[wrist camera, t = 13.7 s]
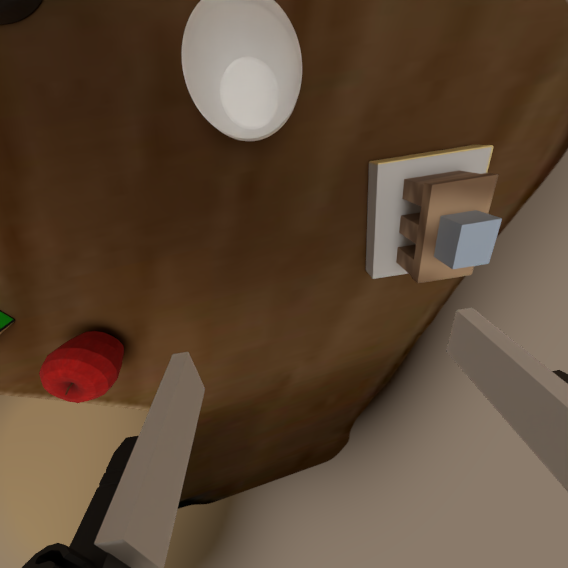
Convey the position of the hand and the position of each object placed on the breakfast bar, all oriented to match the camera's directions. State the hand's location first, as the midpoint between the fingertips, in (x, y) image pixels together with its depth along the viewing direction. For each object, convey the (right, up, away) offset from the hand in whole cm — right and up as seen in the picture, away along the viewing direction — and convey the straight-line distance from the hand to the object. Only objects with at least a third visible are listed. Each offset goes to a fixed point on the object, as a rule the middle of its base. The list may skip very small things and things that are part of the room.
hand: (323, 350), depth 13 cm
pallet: (+17, +12, +22) cm, 30 cm away
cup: (-6, +25, +16) cm, 30 cm away
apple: (-33, -7, +32) cm, 47 cm away
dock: (+17, +14, +25) cm, 33 cm away
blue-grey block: (+18, +9, +17) cm, 26 cm away
